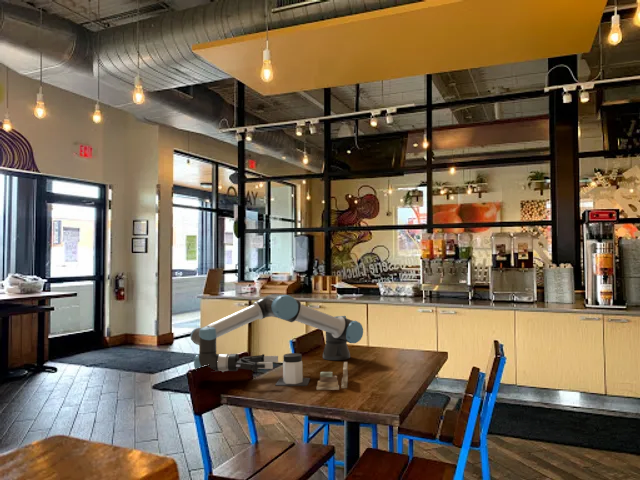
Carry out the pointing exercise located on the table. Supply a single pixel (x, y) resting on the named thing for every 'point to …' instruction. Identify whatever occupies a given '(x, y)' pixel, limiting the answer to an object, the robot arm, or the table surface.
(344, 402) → the table surface
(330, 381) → the offcuts
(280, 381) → the mat
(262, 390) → the table surface
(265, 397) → the table surface
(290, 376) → the jar
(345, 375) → the rack
